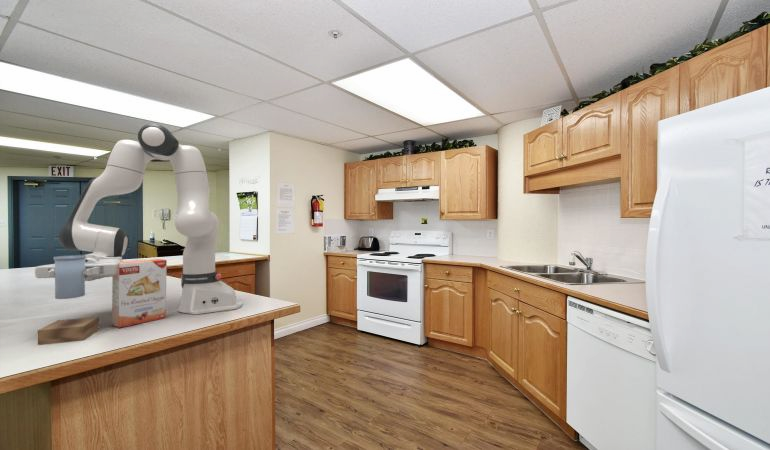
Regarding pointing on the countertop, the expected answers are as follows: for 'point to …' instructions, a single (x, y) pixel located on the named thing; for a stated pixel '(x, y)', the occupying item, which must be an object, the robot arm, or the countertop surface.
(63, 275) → the canister
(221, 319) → the countertop surface
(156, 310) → the cracker box
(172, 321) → the countertop surface
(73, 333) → the plinth
